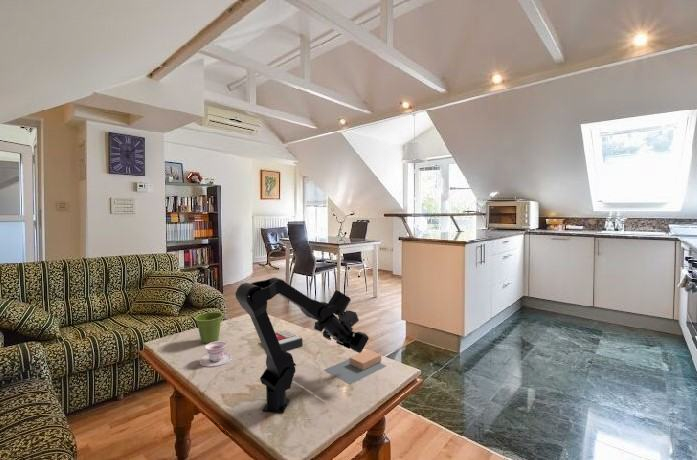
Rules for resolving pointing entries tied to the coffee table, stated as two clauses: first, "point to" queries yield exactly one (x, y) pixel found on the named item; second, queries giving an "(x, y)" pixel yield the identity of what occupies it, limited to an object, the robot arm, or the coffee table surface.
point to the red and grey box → (288, 340)
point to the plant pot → (209, 326)
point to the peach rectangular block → (365, 359)
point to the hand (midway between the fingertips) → (356, 347)
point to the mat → (352, 371)
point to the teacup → (215, 354)
